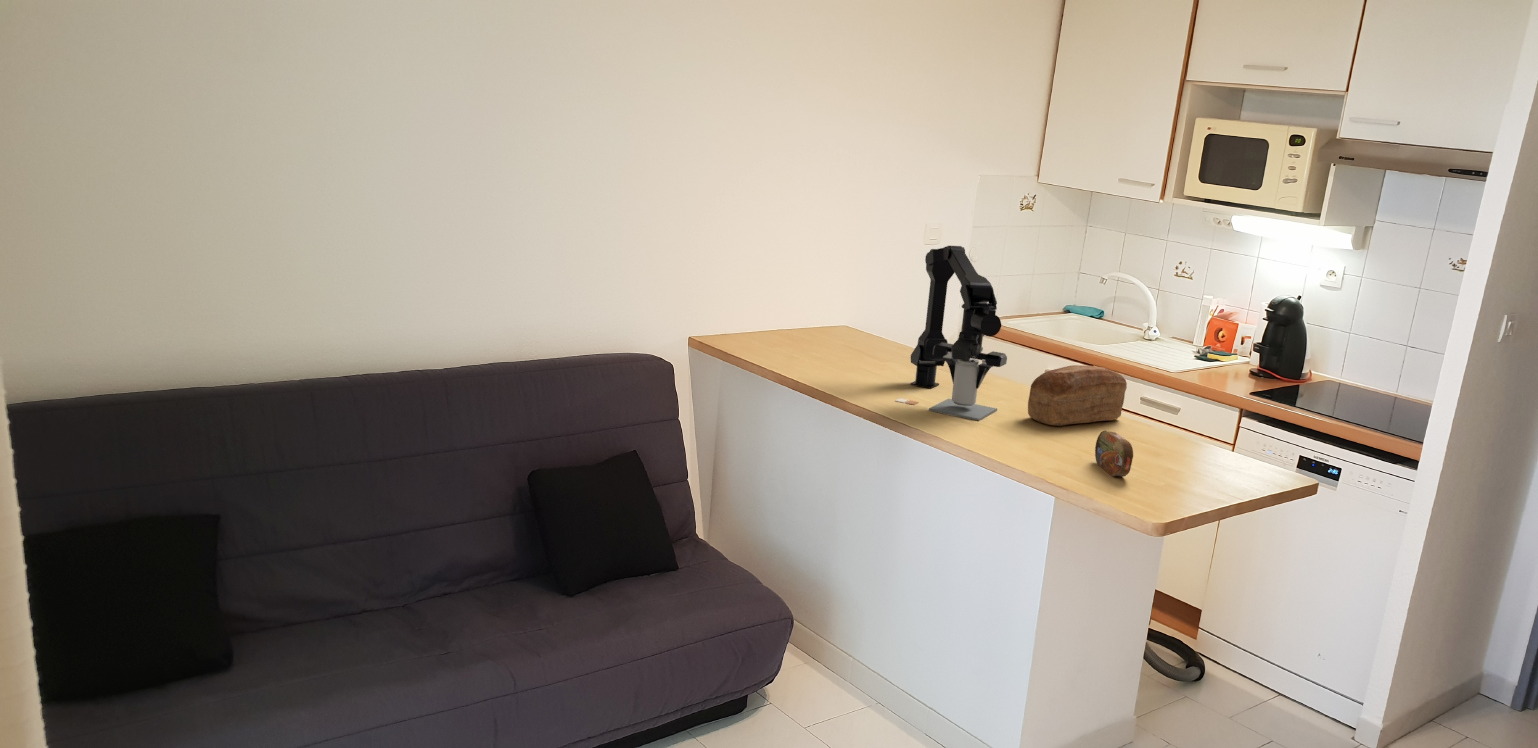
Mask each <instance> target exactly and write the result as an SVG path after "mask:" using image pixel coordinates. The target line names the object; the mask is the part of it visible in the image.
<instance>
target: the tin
mask: <svg viewBox="0 0 1538 748" xmlns="http://www.w3.org/2000/svg"><path fill="white" fill-rule="evenodd" d="M1094 456H1095V461H1096V464H1097V466H1099V467H1100V468H1101V469H1103V470H1104V471H1105V472H1106V473H1108V474H1109V475H1110V476H1111V477H1122V478H1123V477H1126V476H1127V475H1128V474H1130V472H1131V467H1132V465H1133V464H1132V463H1133V459H1134V450H1133V446H1132V444H1131V442H1130V441H1129V440H1127V439H1126V438H1124V437H1123V436H1121V435H1120V434H1119V433H1117V432H1115V431H1109V430H1105V429H1104V430H1102V431H1101V432H1100V433H1099V434H1098V437H1097V438H1096V441H1095V448H1094Z"/></svg>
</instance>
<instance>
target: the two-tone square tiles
mask: <svg viewBox="0 0 1538 748" xmlns="http://www.w3.org/2000/svg"><path fill="white" fill-rule="evenodd" d="M894 401H895V402H897V403H901V404H902V403H903V404H904V403H905V404H907V405H911V404H912V405H913V406H916V405H918V404H919V402H920V401H916V400H915V401H914V400H910V399H906V398H902V397H899V398H897V399H895V400H894Z"/></svg>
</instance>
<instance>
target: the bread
mask: <svg viewBox="0 0 1538 748" xmlns="http://www.w3.org/2000/svg"><path fill="white" fill-rule="evenodd" d="M1127 385H1128V383H1127V380H1126V379H1125V378H1124V376H1123V375H1121V374H1119V372H1115V371H1113V370H1111V369H1109V368H1107V367H1103V366H1094V365H1078V364H1075V365H1068V366H1063V367H1059V368H1056V369H1055V368H1054V369H1051V370H1048V371H1045V372H1043V373H1041V374H1040V375H1039V376H1037V377H1036V378H1035V379H1034V380H1033V381H1032V383H1031V384H1030V389H1029V396H1028V402H1027V415H1028V416H1029V417H1030V418H1031V419H1032V420H1035V421H1037V422H1039V423H1042V424H1045V425H1049V426H1059V427H1060V426H1067V425H1073V424H1074V425H1075V424H1086V423H1087V424H1088V423H1094V422H1101V421H1103V422H1104V421H1115V420H1116V419H1119V418H1120V417H1121V415H1122V409H1123V406H1124V401H1125V394H1126V390H1127Z"/></svg>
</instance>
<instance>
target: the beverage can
mask: <svg viewBox="0 0 1538 748" xmlns="http://www.w3.org/2000/svg"><path fill="white" fill-rule="evenodd" d="M957 360H958V361H957V362H956V364H955V373H954V382H953V381H952V384H953V385H952V394H951V399H952V401H953V402H954V403H955V404H957V405H961V406H972V405H973V404H977V396H978V389H976V382H977V377H978V372H979V366H978V365H980V360H978V359H973V358H970V360H969V361H963V360H960V359H957Z"/></svg>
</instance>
